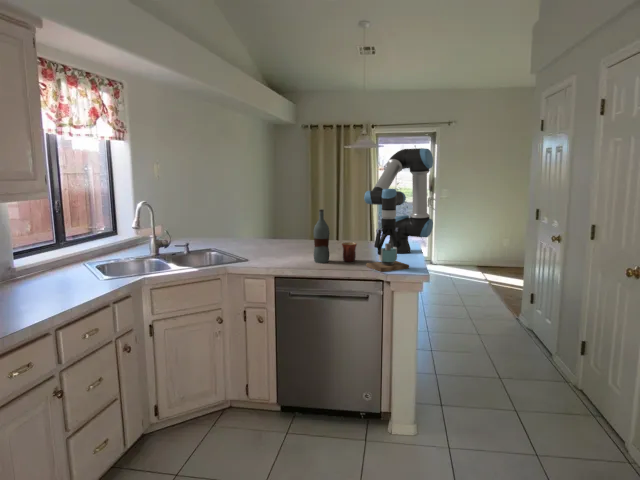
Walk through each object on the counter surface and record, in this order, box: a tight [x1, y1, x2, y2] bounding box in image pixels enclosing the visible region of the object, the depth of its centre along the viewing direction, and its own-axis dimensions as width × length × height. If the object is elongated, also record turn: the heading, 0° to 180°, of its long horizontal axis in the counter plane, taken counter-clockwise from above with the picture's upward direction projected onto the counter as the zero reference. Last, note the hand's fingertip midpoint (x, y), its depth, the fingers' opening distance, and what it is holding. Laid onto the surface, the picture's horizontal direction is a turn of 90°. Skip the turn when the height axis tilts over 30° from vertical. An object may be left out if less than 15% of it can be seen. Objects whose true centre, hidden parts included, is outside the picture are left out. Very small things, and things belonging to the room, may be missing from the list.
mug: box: [341, 241, 358, 263], centre depth 259 cm, size 12×9×10 cm
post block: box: [366, 242, 410, 273], centre depth 243 cm, size 18×14×13 cm
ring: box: [381, 247, 397, 262], centre depth 243 cm, size 8×8×6 cm
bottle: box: [313, 208, 330, 264], centre depth 258 cm, size 9×9×30 cm
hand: (387, 259), depth 244 cm, fingers closed on ring, 8 cm apart
